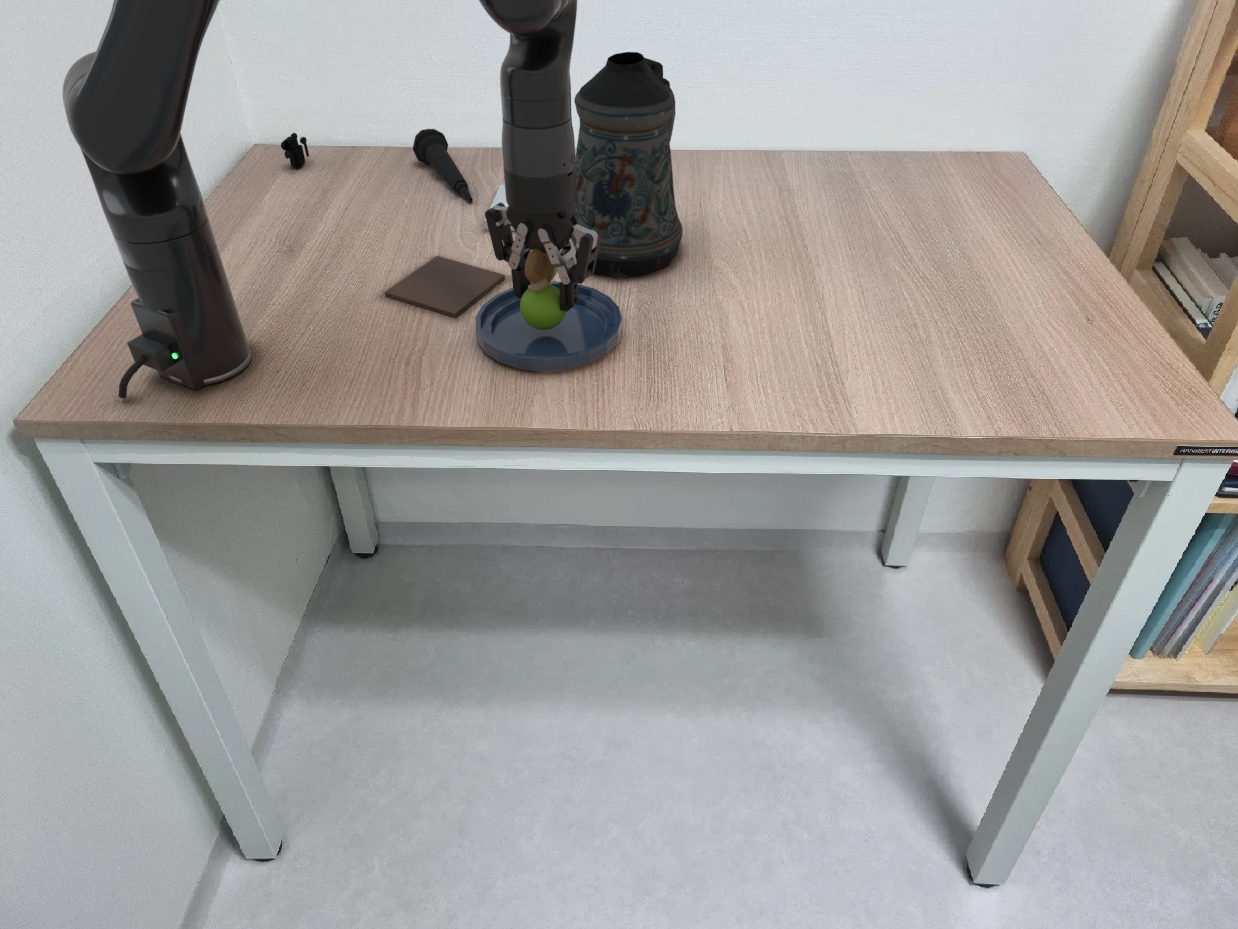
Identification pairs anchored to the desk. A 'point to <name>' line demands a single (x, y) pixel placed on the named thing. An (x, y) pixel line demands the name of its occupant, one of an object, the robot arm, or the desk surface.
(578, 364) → the plate
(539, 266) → the snail figurine
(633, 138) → the beer stein
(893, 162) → the desk surface
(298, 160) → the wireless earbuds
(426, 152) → the microphone
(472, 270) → the coaster
